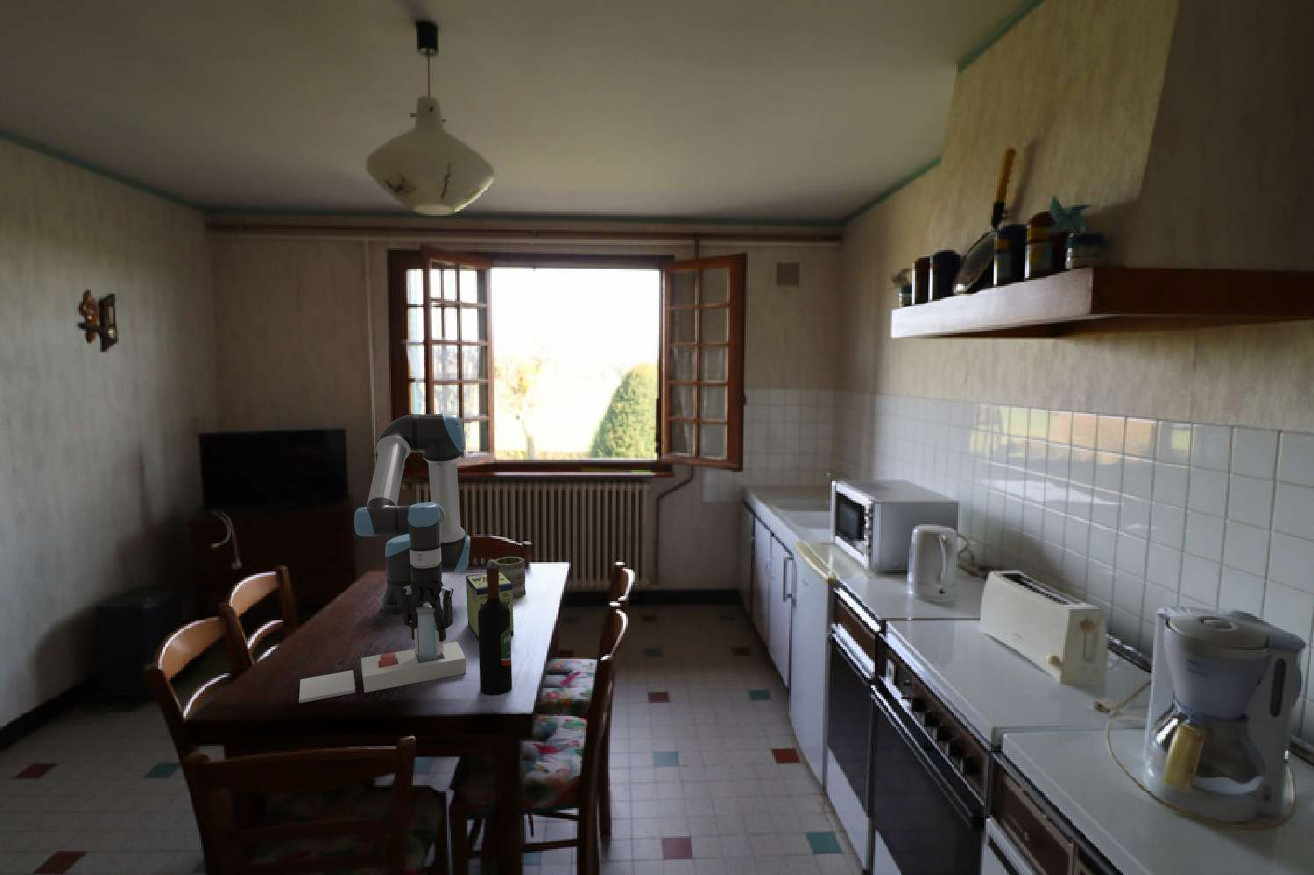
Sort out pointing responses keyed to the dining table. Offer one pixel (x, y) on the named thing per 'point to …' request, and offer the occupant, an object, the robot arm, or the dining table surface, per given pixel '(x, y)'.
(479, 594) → the protein box
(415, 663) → the block
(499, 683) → the wine bottle
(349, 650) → the dining table surface
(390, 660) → the plunger
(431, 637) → the cylinder
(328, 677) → the pad
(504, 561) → the mug
